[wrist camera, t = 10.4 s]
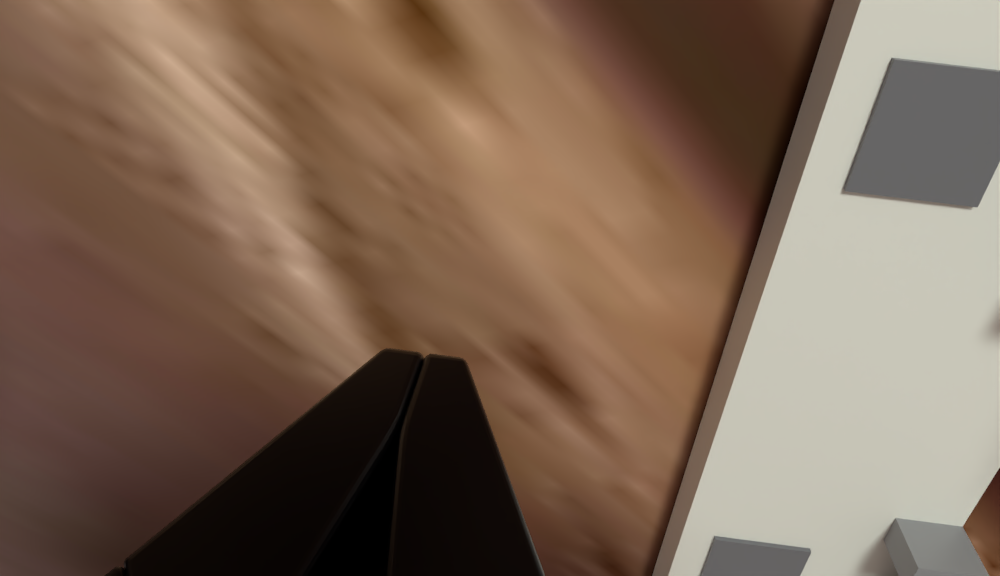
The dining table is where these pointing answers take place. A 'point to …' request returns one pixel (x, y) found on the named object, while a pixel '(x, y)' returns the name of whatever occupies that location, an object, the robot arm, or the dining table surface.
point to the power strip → (864, 318)
